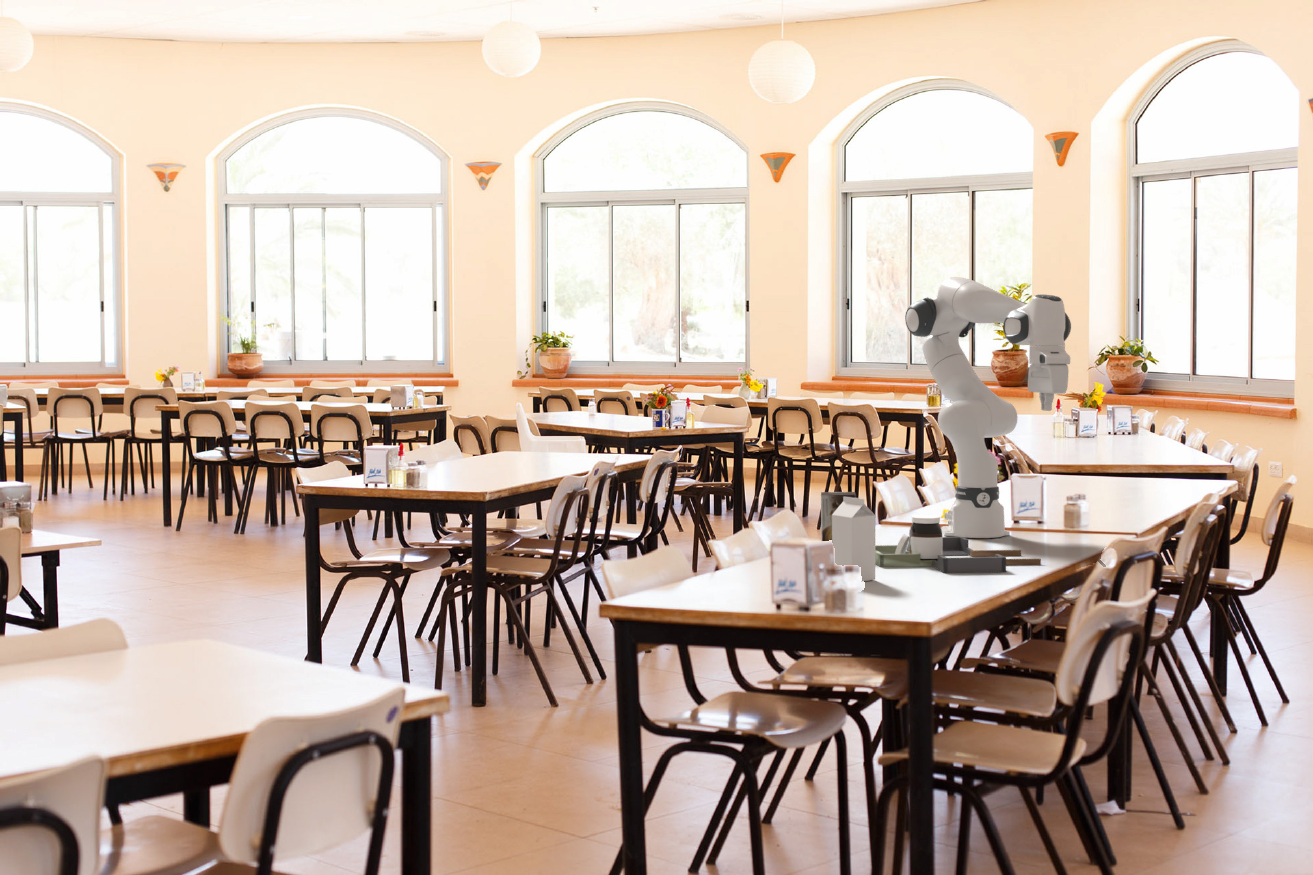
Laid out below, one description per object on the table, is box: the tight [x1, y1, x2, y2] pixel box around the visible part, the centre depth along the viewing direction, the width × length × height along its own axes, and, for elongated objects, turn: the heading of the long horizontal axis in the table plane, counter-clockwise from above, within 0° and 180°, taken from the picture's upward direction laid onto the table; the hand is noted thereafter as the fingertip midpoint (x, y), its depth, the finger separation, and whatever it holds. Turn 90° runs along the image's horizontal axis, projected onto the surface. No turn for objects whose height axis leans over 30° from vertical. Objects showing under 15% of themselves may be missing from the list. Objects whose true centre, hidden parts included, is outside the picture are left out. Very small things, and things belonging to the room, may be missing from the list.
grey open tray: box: [906, 536, 973, 557], centre depth 344 cm, size 10×15×4 cm
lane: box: [875, 544, 1042, 568], centre depth 331 cm, size 16×40×3 cm, turn 93°
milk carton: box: [832, 497, 876, 582], centre depth 303 cm, size 7×7×19 cm
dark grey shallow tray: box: [931, 554, 1007, 574], centre depth 318 cm, size 10×15×4 cm
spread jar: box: [895, 514, 944, 561], centre depth 329 cm, size 12×11×12 cm
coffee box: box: [820, 491, 857, 541], centre depth 344 cm, size 9×6×16 cm
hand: (1046, 410), depth 342 cm, fingers closed
